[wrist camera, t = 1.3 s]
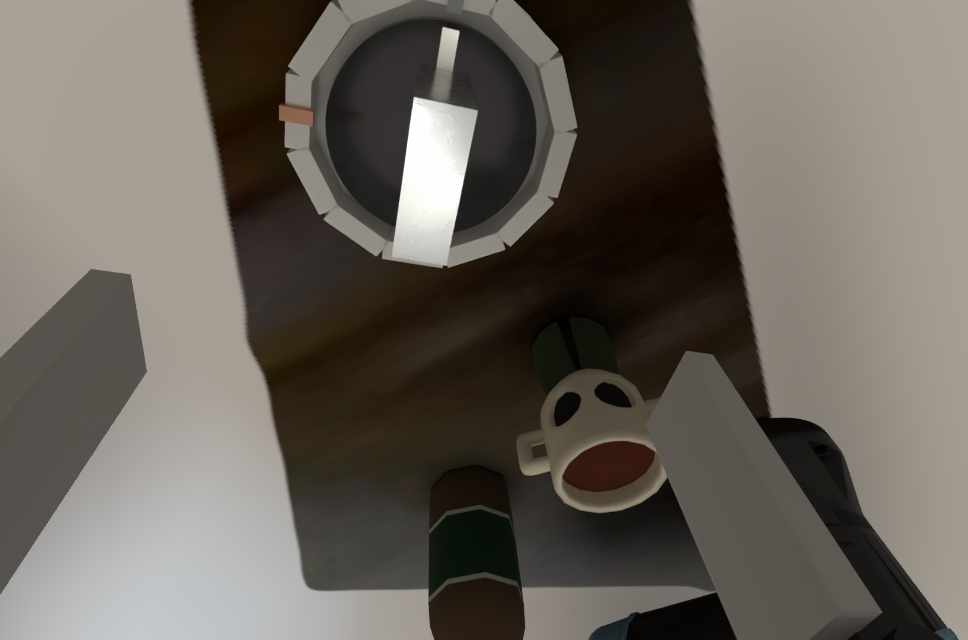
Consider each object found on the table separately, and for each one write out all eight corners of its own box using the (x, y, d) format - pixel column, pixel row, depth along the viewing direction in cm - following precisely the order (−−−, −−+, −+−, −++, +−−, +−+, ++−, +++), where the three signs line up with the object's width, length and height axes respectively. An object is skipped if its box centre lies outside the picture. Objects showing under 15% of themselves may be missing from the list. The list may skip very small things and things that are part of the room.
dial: (506, 237, 34) (523, 313, 27) (324, 206, 32) (293, 280, 25) (557, 44, 28) (597, 80, 21) (337, -8, 26) (300, 11, 19)
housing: (522, 246, 38) (533, 287, 34) (297, 208, 35) (277, 247, 31) (592, 2, 30) (619, 13, 25) (306, -72, 27) (281, -74, 23)
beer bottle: (461, 525, 56) (474, 843, 36) (413, 487, 52) (398, 820, 32) (525, 493, 54) (576, 813, 34) (479, 452, 50) (507, 786, 30)
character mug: (630, 289, 41) (698, 413, 30) (643, 359, 45) (706, 490, 34) (491, 330, 42) (509, 463, 31) (515, 394, 46) (538, 531, 35)
